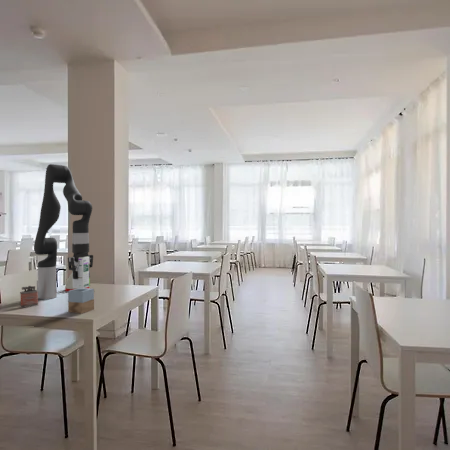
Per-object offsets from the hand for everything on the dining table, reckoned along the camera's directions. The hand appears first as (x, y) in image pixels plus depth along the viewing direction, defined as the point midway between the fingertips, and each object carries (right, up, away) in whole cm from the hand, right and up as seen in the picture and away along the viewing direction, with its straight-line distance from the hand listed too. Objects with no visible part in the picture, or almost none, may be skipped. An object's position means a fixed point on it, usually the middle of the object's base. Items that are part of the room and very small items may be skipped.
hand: (81, 277), depth 173 cm
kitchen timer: (-24, -15, +54) cm, 61 cm away
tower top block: (0, -11, 0) cm, 11 cm away
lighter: (-30, -16, +11) cm, 36 cm away
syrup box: (0, -5, 0) cm, 5 cm away
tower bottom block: (0, -16, 0) cm, 16 cm away
